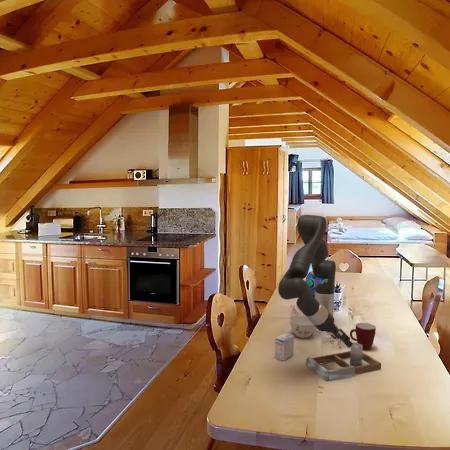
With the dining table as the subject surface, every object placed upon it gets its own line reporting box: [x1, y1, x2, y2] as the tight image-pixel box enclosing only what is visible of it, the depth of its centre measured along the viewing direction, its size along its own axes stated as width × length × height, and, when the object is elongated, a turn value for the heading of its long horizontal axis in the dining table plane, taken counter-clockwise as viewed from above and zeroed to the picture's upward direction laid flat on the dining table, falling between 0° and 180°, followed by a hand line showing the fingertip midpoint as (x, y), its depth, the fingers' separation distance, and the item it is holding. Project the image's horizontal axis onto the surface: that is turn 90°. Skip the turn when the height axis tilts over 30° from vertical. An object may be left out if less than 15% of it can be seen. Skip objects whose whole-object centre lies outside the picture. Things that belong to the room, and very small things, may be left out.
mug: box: [349, 322, 376, 351], centre depth 167 cm, size 10×8×10 cm
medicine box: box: [274, 332, 295, 362], centre depth 158 cm, size 8×4×9 cm, turn 141°
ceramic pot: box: [304, 270, 328, 297], centre depth 244 cm, size 18×18×15 cm
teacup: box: [289, 314, 317, 339], centre depth 181 cm, size 15×12×8 cm
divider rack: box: [305, 350, 382, 382], centre depth 149 cm, size 14×25×4 cm, turn 111°
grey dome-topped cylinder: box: [349, 342, 364, 367], centre depth 151 cm, size 4×4×8 cm
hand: (343, 341), depth 148 cm, fingers open, 8 cm apart
